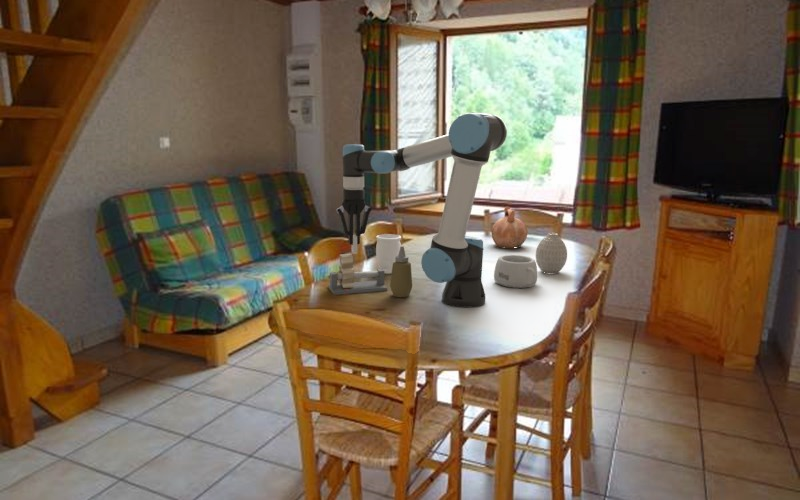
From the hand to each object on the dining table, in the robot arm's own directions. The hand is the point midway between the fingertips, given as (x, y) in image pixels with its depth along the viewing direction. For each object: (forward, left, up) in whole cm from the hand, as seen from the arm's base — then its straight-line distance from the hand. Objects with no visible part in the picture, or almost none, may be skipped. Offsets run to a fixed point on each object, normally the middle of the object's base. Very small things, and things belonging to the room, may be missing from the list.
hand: (354, 253), depth 206 cm
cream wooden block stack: (0, +3, -12) cm, 12 cm away
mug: (-11, -63, -14) cm, 65 cm away
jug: (+52, -95, -14) cm, 110 cm away
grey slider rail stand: (0, -1, -14) cm, 14 cm away
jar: (+21, -20, -14) cm, 33 cm away
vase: (+2, -86, -14) cm, 87 cm away
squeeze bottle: (-12, -14, -14) cm, 23 cm away
